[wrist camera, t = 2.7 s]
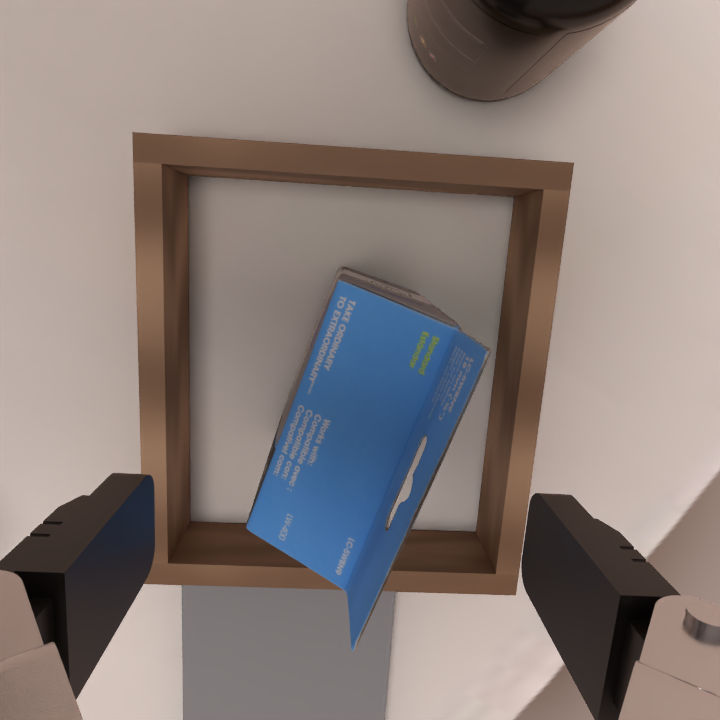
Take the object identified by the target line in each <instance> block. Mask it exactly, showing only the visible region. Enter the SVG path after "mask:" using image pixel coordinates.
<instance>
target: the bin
mask: <svg viewBox="0 0 720 720" xmlns="http://www.w3.org/2000/svg"><path fill="white" fill-rule="evenodd" d="M573 166H574V163H568V162H553V161H539V160H525V159H510V158H496V157H481V156H467V155H452V154H438V153H423V152H409V151H395V150H380V149H366V148H351V147H337V146H322V145H308V144H293V143H279V142H265V141H250V140H236V139H221V138H207V137H192V136H178V135H163V134H149V133H135V132H133V169H134V208H135V246H136V285H137V323H138V361H139V400H140V438H141V474H146V475H151V476H152V478H153V481H154V496H155V552H154V558H153V563H152V567H151V570H150V573H149V575H148V577H147V579H146V581H145V582H144V584H164V585H197V586H230V587H262V588H295V589H327V590H343V589H341V588H340V587H338V586H336V585H335V584H333V583H332V582H330V581H329V580H327V579H326V578H324V577H322V576H321V575H319V574H318V573H316V572H314V571H313V570H311V569H310V568H308V567H306V566H305V565H303V564H302V563H300V562H299V561H297V560H295V559H294V558H292V557H290V556H289V555H287V554H286V553H284V552H282V551H281V550H279V549H278V548H276V547H274V546H273V545H271V544H269V543H268V542H266V541H265V540H263V539H261V538H260V537H258V536H256V535H255V534H253V533H252V532H250V531H249V530H248V529H247V528H246V524H237V523H209V522H190V410H189V246H188V175H189V176H204V177H219V178H235V179H250V180H265V181H280V182H295V183H311V184H326V185H341V186H356V187H371V188H386V189H402V190H417V191H432V192H447V193H462V194H478V195H493V196H508V197H514V205H513V214H512V222H511V231H510V240H509V249H508V257H507V266H506V275H505V284H504V292H503V301H502V310H501V319H500V327H499V336H498V345H497V354H496V362H495V371H494V380H493V389H492V397H491V406H490V415H489V424H488V432H487V441H486V450H485V459H484V467H483V476H482V485H481V494H480V502H479V511H478V520H477V529H476V532H458V531H431V530H411V531H410V533H409V535H408V536H407V539H406V541H405V543H404V545H403V548H402V550H401V552H400V554H399V556H398V558H397V560H396V562H395V564H394V567H393V569H392V571H391V573H390V576H389V578H388V580H387V582H386V584H385V586H384V589H383V591H392V592H425V593H458V594H490V595H516V590H517V582H518V575H519V567H520V560H521V552H522V545H523V538H524V530H525V523H526V515H527V508H528V500H529V493H530V486H531V478H532V471H533V463H534V456H535V448H536V441H537V434H538V426H539V419H540V411H541V404H542V396H543V389H544V382H545V374H546V367H547V359H548V352H549V344H550V337H551V330H552V322H553V315H554V307H555V300H556V292H557V285H558V278H559V270H560V263H561V255H562V248H563V240H564V233H565V226H566V218H567V211H568V203H569V196H570V188H571V181H572V174H573ZM387 531H388V529H387Z"/></svg>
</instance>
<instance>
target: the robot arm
mask: <svg viewBox="0 0 720 720" xmlns="http://www.w3.org/2000/svg"><path fill="white" fill-rule="evenodd" d="M154 552H155V496H154V481H153V478H152V476H151V475H146V474H124V473H112V474H111V475H110V476H109V477H108V478H107V479H106V480H105V481H104V482H103V483H102V484H101V485H100V486H99V487H98V488H97V489H96V490H95V491H94V492H93V493H92V494H91V495H90V496H86V495H82V496H80V497H78V498H76V499H74V500H72V501H70V502H68V503H66V504H64V505H62V506H60V507H58V508H57V509H56V510H55V511H54V512H53V513H52V514H51V515H50V516H48V517H47V518H46V519H45V520H44V521H43V524H40V525H39V526H38V527H37V528H35V529H34V530H33V531H32V532H31V534H30V536H27V537H26V538H25V539H24V540H23V541H21V542H20V543H19V544H18V545H17V546H16V547H15V548H14V549H13V550H12V551H11V552H10V553H9V554H7V555H6V556H5V557H4V558H3V559H2V560H1V561H0V720H83V718H82V716H81V713H80V710H79V707H78V705H77V702H76V699H77V697H78V696H79V694H80V692H81V690H82V689H83V687H84V685H85V684H86V682H87V680H88V678H89V677H90V675H91V673H92V672H93V670H94V668H95V666H96V665H97V663H98V661H99V660H100V658H101V656H102V654H103V653H104V651H105V649H106V648H107V646H108V644H109V642H110V641H111V639H112V637H113V636H114V634H115V632H116V630H117V629H118V627H119V625H120V624H121V622H122V620H123V618H124V617H125V615H126V613H127V611H128V610H129V608H130V606H131V605H132V603H133V601H134V599H135V598H136V596H137V594H138V593H139V591H140V589H141V587H142V586H143V584H144V582H145V581H146V579H147V577H148V575H149V573H150V570H151V567H152V563H153V558H154ZM522 578H523V583H524V587H525V590H526V592H527V594H528V596H529V598H530V600H531V602H532V603H533V605H534V607H535V609H536V611H537V613H538V615H539V617H540V618H541V620H542V622H543V624H544V626H545V628H546V630H547V631H548V633H549V635H550V637H551V639H552V641H553V643H554V644H555V646H556V648H557V650H558V652H559V654H560V656H561V658H562V659H563V661H564V663H565V665H566V667H567V669H568V671H569V672H570V674H571V676H572V678H573V680H574V682H575V684H576V685H577V687H578V689H579V691H580V693H581V695H582V697H583V698H584V700H585V702H586V704H587V706H588V708H589V710H590V712H591V713H592V715H593V717H594V719H595V720H720V606H718V605H716V604H713V603H711V602H708V601H705V600H702V599H698V598H694V597H689V596H681V595H680V594H679V593H678V592H677V591H676V590H675V589H674V588H673V587H672V586H671V585H670V584H669V583H668V582H667V581H666V580H665V579H664V578H663V577H662V576H661V574H660V573H659V572H658V571H657V570H656V569H655V568H654V567H653V566H652V565H651V564H650V563H649V562H646V559H645V558H644V557H643V556H642V555H641V554H640V553H639V552H638V551H637V550H634V547H633V546H632V545H631V544H630V543H629V542H628V541H627V539H626V538H625V537H624V536H623V535H622V534H621V533H620V532H618V531H617V530H615V529H613V528H612V527H610V526H608V525H607V524H605V523H603V522H602V521H600V520H598V519H594V518H593V517H592V516H591V515H590V514H589V513H588V512H587V511H586V510H585V509H584V508H583V507H582V506H581V504H580V503H579V502H578V501H577V500H576V499H575V498H574V497H573V496H572V495H564V494H542V493H535V494H534V495H533V496H532V498H531V501H530V505H529V512H528V519H527V526H526V533H525V541H524V548H523V555H522Z"/></svg>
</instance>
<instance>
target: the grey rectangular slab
mask: <svg viewBox="0 0 720 720" xmlns="http://www.w3.org/2000/svg"><path fill="white" fill-rule="evenodd" d="M394 601H395V592H392V591H382V593H381V595H380V597H379V599H378V602H377V604H376V606H375V608H374V610H373V613H372V615H371V617H370V619H369V621H368V623H367V625H366V627H365V630H364V632H363V634H362V636H361V638H360V640H359V643H358V645H357V648H356V650H355V651H352V650H351V637H350V624H349V610H348V599H347V594H346V592H345V591H344V590H327V589H295V588H262V587H230V586H197V585H182V652H183V720H385V711H386V698H387V686H388V674H389V662H390V650H391V638H392V626H393V613H394Z"/></svg>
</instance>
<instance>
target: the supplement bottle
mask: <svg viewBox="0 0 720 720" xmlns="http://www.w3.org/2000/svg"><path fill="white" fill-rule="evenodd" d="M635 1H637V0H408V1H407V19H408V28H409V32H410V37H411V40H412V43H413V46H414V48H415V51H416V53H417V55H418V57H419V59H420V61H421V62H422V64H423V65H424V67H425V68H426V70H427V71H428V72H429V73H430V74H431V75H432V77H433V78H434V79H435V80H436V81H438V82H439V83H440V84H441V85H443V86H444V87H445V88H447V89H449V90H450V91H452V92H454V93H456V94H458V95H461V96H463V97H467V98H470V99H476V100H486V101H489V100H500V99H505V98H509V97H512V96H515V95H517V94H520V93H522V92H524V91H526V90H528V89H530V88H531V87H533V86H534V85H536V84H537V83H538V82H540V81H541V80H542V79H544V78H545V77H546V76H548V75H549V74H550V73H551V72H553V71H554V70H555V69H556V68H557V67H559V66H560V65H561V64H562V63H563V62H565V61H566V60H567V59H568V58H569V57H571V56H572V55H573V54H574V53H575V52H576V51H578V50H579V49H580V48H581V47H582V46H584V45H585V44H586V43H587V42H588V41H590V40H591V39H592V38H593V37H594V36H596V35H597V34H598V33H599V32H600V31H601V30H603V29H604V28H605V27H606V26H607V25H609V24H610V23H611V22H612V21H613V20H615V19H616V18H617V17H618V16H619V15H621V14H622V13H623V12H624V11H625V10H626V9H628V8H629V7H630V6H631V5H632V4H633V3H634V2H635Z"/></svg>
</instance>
